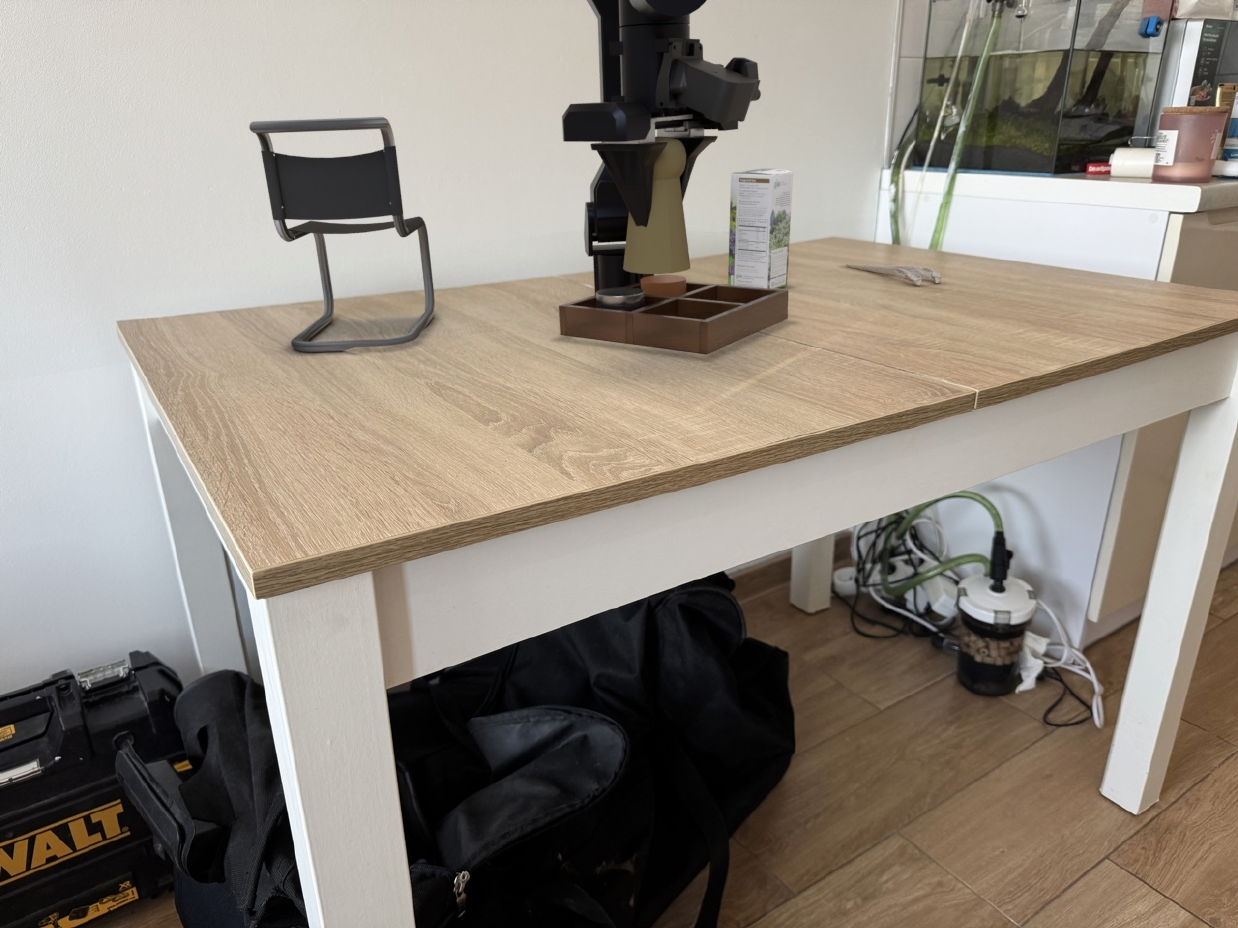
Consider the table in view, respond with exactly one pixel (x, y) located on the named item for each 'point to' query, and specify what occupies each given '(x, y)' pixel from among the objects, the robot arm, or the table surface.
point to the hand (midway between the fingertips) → (657, 223)
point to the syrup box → (760, 228)
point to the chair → (339, 208)
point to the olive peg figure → (661, 220)
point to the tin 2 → (664, 285)
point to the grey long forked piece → (902, 272)
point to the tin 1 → (620, 299)
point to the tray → (680, 317)
